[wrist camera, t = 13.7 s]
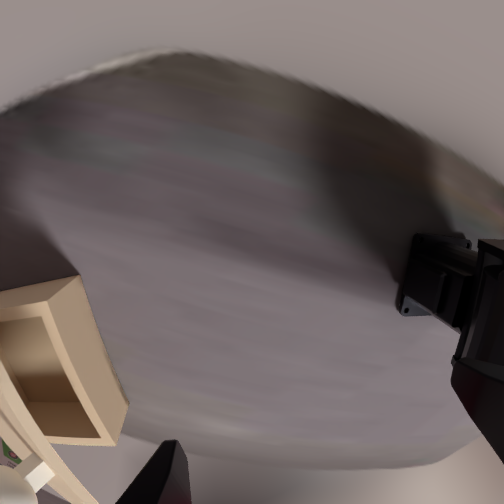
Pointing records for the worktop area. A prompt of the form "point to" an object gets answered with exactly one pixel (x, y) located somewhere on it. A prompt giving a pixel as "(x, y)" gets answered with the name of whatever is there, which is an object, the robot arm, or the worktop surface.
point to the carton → (61, 363)
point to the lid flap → (31, 455)
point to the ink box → (8, 456)
